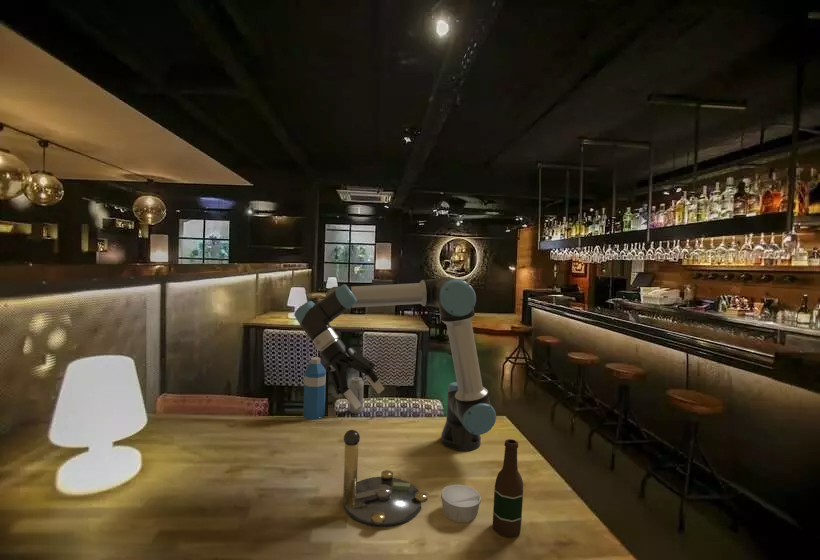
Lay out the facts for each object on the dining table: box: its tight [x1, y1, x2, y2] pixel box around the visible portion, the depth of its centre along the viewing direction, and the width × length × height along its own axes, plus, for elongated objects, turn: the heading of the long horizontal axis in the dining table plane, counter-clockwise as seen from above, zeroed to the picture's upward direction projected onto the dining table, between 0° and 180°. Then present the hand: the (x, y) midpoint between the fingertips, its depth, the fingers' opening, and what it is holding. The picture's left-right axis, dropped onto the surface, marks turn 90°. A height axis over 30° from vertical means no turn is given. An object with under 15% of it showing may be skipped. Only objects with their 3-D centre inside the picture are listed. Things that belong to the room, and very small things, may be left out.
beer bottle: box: [492, 438, 524, 539], centre depth 116 cm, size 8×8×24 cm
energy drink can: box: [348, 376, 365, 415], centre depth 195 cm, size 6×6×15 cm
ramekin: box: [440, 484, 482, 523], centre depth 123 cm, size 11×11×5 cm
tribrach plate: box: [343, 469, 429, 528], centre depth 126 cm, size 24×26×3 cm
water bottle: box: [302, 356, 327, 420], centre depth 189 cm, size 9×9×25 cm
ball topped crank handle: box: [342, 429, 392, 506], centre depth 123 cm, size 15×5×21 cm, turn 117°
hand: (369, 399), depth 138 cm, fingers open, 13 cm apart
